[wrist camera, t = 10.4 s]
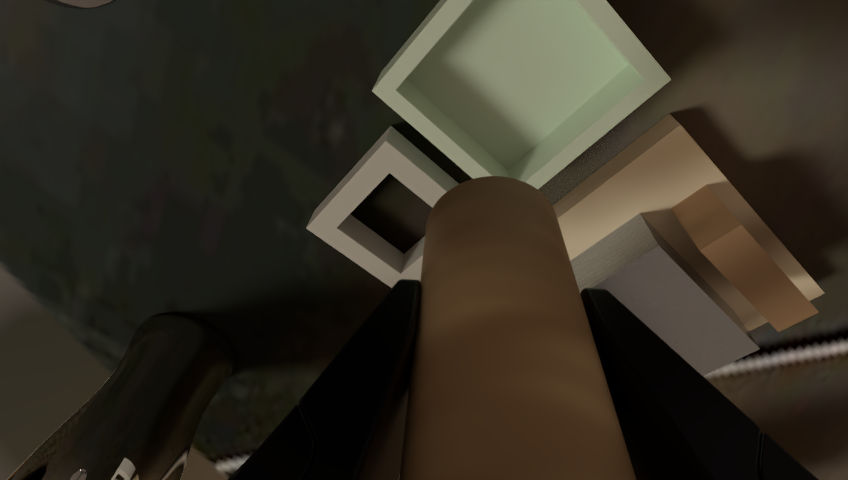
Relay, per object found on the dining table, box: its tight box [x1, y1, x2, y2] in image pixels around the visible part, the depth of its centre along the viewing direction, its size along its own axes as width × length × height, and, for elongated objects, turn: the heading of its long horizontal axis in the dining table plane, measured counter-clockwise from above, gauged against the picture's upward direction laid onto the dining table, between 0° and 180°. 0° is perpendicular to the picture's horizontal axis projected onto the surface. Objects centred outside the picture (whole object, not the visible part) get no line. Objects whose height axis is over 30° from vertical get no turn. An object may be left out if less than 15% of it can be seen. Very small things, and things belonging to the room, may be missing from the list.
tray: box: [372, 0, 671, 189], centre depth 17 cm, size 7×7×2 cm
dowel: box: [399, 176, 636, 480], centre depth 8 cm, size 3×3×8 cm
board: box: [552, 114, 824, 332], centre depth 23 cm, size 12×14×4 cm
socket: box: [306, 126, 459, 288], centre depth 22 cm, size 6×6×2 cm
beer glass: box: [7, 314, 236, 480], centre depth 23 cm, size 7×7×15 cm
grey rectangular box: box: [570, 213, 760, 376], centre depth 22 cm, size 8×6×2 cm
